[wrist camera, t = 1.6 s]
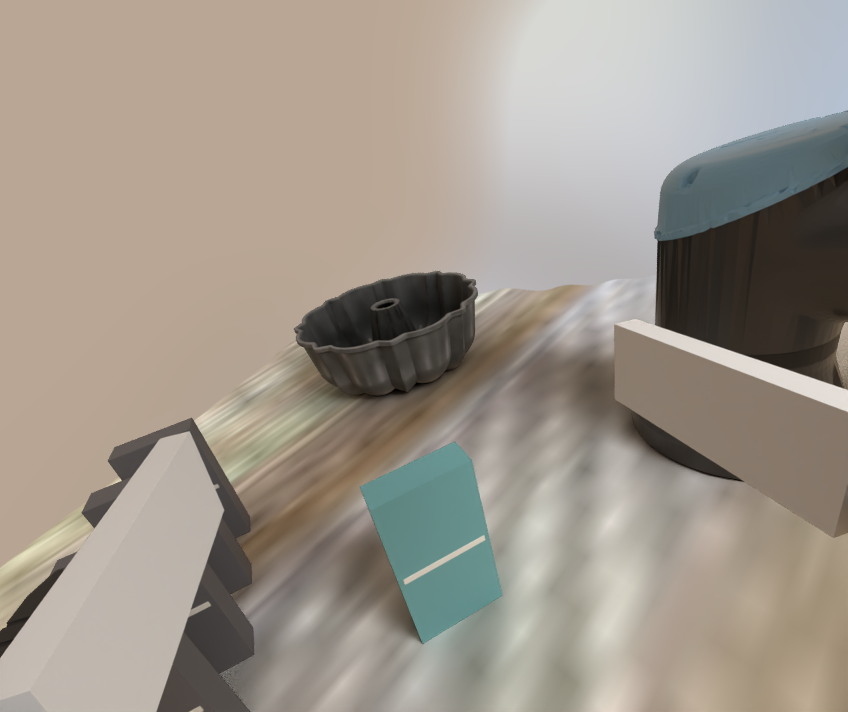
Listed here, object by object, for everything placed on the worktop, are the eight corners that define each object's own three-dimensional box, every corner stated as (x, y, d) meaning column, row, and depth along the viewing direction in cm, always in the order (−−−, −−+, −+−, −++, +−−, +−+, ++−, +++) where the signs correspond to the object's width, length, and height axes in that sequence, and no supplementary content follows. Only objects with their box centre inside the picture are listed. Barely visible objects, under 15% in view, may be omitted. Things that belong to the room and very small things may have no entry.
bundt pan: (474, 413, 47) (457, 335, 42) (283, 419, 55) (253, 355, 51) (497, 319, 69) (488, 261, 65) (358, 333, 78) (342, 283, 73)
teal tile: (486, 571, 29) (454, 441, 24) (502, 595, 28) (472, 460, 22) (411, 615, 28) (359, 486, 23) (423, 644, 26) (369, 511, 21)
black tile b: (253, 627, 30) (171, 510, 24) (254, 654, 28) (166, 535, 23) (165, 674, 28) (57, 559, 23) (160, 706, 26) (42, 590, 21)
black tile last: (249, 516, 40) (191, 417, 35) (250, 531, 38) (189, 429, 33) (185, 546, 38) (114, 447, 33) (182, 563, 37) (107, 461, 31)
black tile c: (251, 563, 35) (183, 455, 30) (251, 583, 33) (179, 472, 28) (176, 600, 33) (91, 493, 28) (173, 623, 31) (81, 513, 26)
